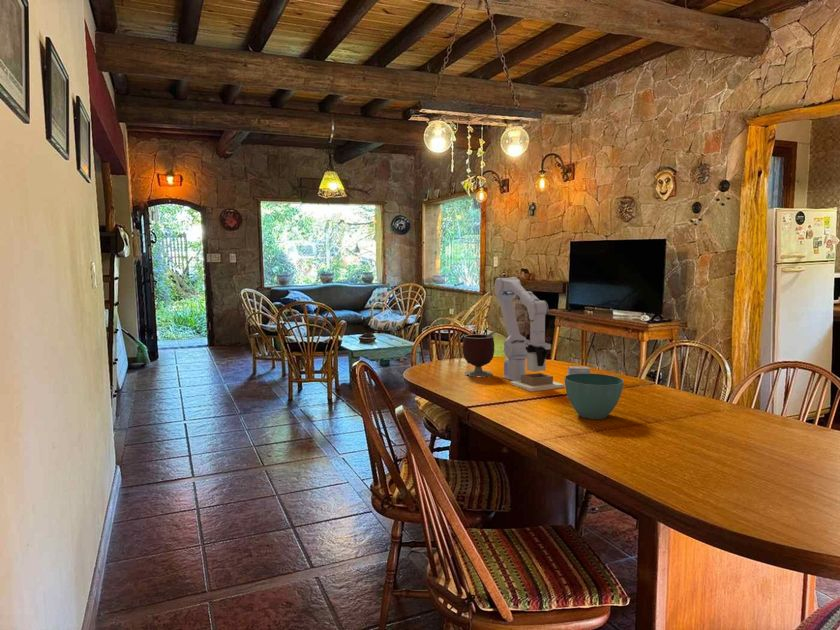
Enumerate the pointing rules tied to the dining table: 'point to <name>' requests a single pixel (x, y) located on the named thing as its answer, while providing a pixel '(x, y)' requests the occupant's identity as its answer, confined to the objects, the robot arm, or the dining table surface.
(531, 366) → the block
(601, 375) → the teal bowl
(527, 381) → the slot stand
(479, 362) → the mate gourd
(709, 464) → the dining table surface
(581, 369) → the medicine box
